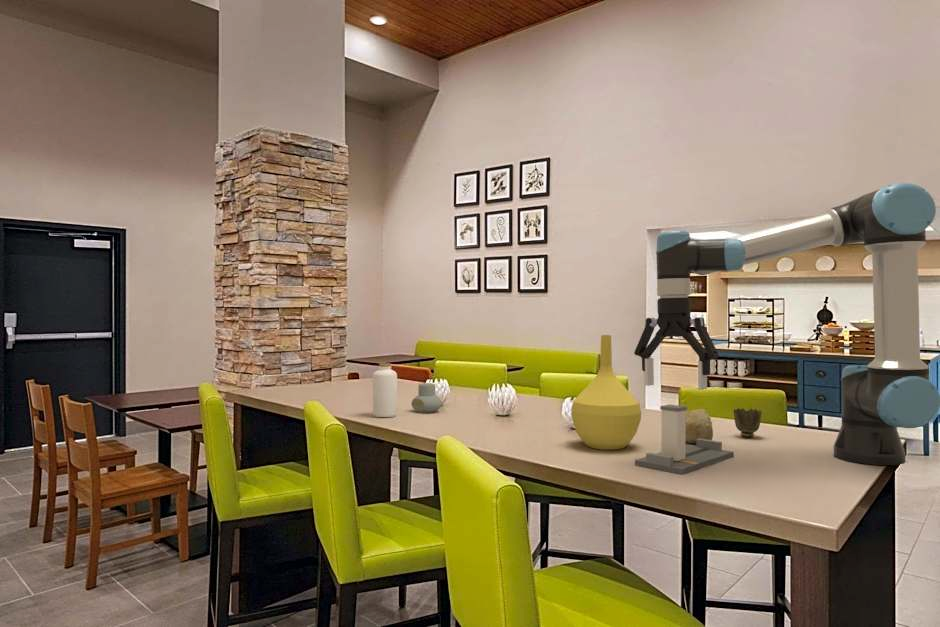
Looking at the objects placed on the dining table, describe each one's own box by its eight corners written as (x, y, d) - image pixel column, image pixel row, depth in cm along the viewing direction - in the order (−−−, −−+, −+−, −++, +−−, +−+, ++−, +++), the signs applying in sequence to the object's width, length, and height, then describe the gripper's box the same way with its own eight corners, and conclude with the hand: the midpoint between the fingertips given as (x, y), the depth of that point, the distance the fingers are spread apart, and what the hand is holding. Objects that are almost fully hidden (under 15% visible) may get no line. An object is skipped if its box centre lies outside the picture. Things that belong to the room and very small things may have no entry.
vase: (557, 446, 173) (558, 335, 173) (594, 436, 187) (594, 333, 187) (618, 457, 161) (619, 337, 161) (653, 446, 174) (653, 335, 174)
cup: (733, 438, 184) (733, 410, 184) (733, 434, 191) (733, 407, 191) (762, 440, 182) (762, 412, 181) (760, 436, 188) (761, 408, 188)
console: (688, 448, 170) (688, 436, 170) (733, 456, 162) (733, 443, 162) (634, 465, 152) (634, 451, 152) (682, 474, 144) (682, 460, 144)
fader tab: (669, 455, 156) (669, 404, 156) (686, 458, 153) (686, 406, 153) (660, 458, 153) (660, 406, 153) (677, 461, 150) (677, 408, 150)
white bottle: (395, 418, 217) (395, 364, 217) (370, 418, 218) (370, 364, 217) (398, 414, 226) (398, 362, 226) (374, 414, 226) (374, 362, 226)
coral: (727, 421, 174) (693, 405, 174) (710, 454, 175) (677, 439, 174) (714, 412, 183) (682, 398, 183) (699, 444, 184) (667, 430, 184)
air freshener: (408, 411, 233) (408, 383, 233) (426, 409, 239) (426, 381, 239) (427, 414, 225) (427, 386, 225) (445, 412, 231) (445, 384, 231)
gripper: (732, 295, 146) (734, 389, 146) (636, 298, 164) (637, 382, 164) (717, 295, 141) (719, 392, 141) (619, 298, 159) (620, 384, 159)
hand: (675, 387), depth 153 cm, fingers open, 13 cm apart
